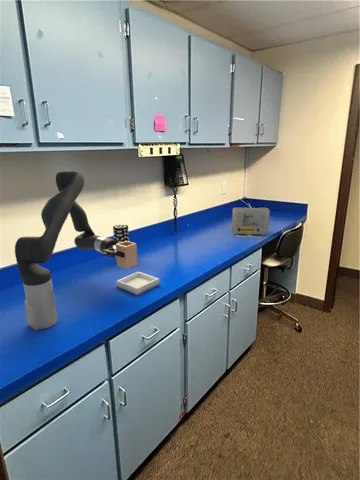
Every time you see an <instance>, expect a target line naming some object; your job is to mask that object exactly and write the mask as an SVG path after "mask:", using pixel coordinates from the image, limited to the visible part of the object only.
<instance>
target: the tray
mask: <svg viewBox="0 0 360 480" xmlns="http://www.w3.org/2000/svg"><path fill="white" fill-rule="evenodd" d="M159 285H160V278H158V277H156V276H153V275H150V274H147V273H144V272H140V271H135V272H133V273H131V274H129V275H127V276H124V277H123V278H120V279H117V280H116V287H117V288H120V289H122V290H124V291H127V292H129V293H131V294H134V295H136V296H139V295H141V294H142V293H145V292H147V291H149V290H151V289H153V288H155V287H157V286H159Z"/></svg>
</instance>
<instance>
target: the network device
mask: <svg viewBox="0 0 360 480" xmlns="http://www.w3.org/2000/svg"><path fill="white" fill-rule="evenodd" d="M270 213H271V211H270V208H268V207H233V208H232V216H231V217H232V219H231V232H232V233H233V234H236V237H239V238H264V235H267V234H268V233H269V229H270V228H269V226H270V225H269V224H270Z"/></svg>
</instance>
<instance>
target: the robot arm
mask: <svg viewBox="0 0 360 480" xmlns="http://www.w3.org/2000/svg"><path fill="white" fill-rule="evenodd" d="M55 185H56V187H57V189H58V193H55V194H54V195H52V196H51V197H50V198H49V199H47V201H46V203H45V205H44V206H43V208H42V210H41V213H40V216H41V220H42V224H43V226H44V228H45V230H44V232H43V234H42V235H40V236H22V237H19V238H18V239H17V240H16V241H15V244H14V255H15V260H16V263H17V268H18V272H19V276H20V278H21V279H22V284H23V288H24V295H25V301H24V309H25V314H26V320H27V325H28V326H29V327H30V328H31V329H32V330H34V331H36V332H37V331H39V330H43V329H44V330H45V329H48V328H52V327H53V326H54V325H55V324H57V322H58V315H57V308H56V302H55V293H54V287H53V280H52V274H51V271H50V270H49V269H48V268H45V267H43V266H41V265H40V264H45V263H48V262H49V261H50V259H51V258H52V256H53V252H54V251H55V248H56V244H57V241H58V238H59V235H60V233H61V230H62V228H63V226H64V225H65V222H66V220H67V218H68V217H69V215H70V218H71V221H72V224H73V228H74V230H75V231H76V232H77V233H80V234H78V235H77V236H75V238H74V245H75V246H76V247H77V248H78V249H80V250H87V251H88V250H90V251H91V250H94V251H97V252H98V253H100V254H103V256H105V257H107V258H115V256H116V257H118V256H119V257H122V258H124V257H125V253H123V252H120V251H117V250H116V244H118V243H117V241H116V240H114V238H110V237H106V236H100V235H96V234H95V233H94V231H93V229H92V228H91V226H90V224H89V220H88V215H87V214H86V211H85V210H84V208H83V207H82V206H81V205H80V204H79V203H78V201H76V200H77V198H78V197H79V195H80V194H81V192H82V191H83V190H84V185H85V176H84V174H83V173H82V172H81V171H79V170H61V171H58V172H57V173H56V175H55Z"/></svg>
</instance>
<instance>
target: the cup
mask: <svg viewBox="0 0 360 480" xmlns="http://www.w3.org/2000/svg"><path fill="white" fill-rule="evenodd" d="M137 245H138V244H137V243H136V242H132V241H130V240H129V241H124V242H121V243H118V244H116V250H117V251H120V252H123V253H125V257H124V258H122V257H119V256H118V257H117V262H116V265H117V267H120V268H123V269H125V270H126V269H127V270H128V269H130V268H132V267H135V266H137V265H138V249H137V248H138V247H137Z"/></svg>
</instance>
